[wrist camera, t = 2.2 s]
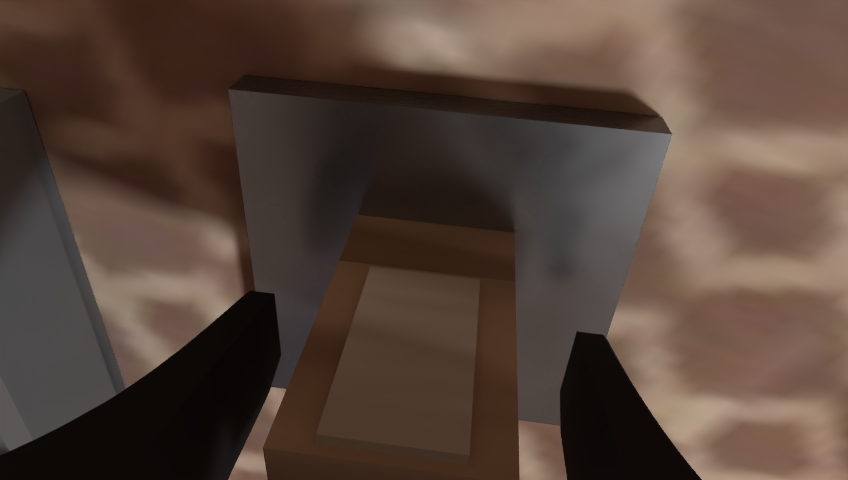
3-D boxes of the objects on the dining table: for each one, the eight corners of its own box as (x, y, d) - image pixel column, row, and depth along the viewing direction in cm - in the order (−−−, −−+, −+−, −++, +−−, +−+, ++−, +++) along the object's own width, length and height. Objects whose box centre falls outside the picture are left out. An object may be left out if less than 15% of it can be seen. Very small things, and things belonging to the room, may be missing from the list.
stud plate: (574, 402, 19) (583, 478, 17) (278, 363, 20) (247, 432, 18) (662, 116, 14) (694, 172, 11) (244, 75, 14) (193, 119, 12)
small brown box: (494, 347, 17) (487, 607, 11) (358, 330, 17) (282, 575, 11) (515, 224, 14) (522, 474, 9) (357, 206, 15) (261, 437, 9)
